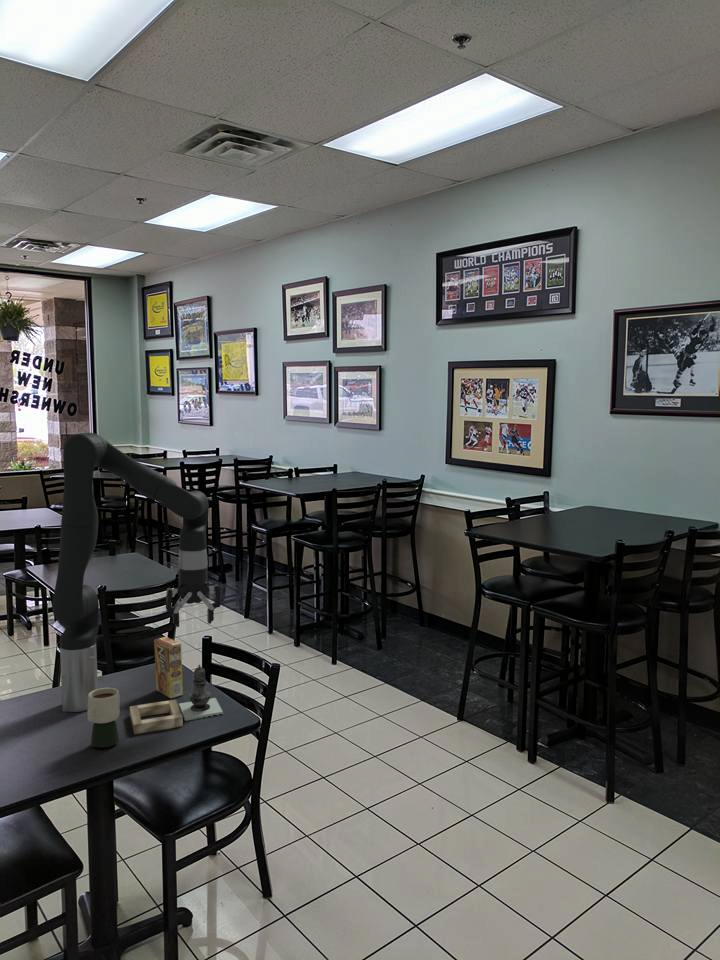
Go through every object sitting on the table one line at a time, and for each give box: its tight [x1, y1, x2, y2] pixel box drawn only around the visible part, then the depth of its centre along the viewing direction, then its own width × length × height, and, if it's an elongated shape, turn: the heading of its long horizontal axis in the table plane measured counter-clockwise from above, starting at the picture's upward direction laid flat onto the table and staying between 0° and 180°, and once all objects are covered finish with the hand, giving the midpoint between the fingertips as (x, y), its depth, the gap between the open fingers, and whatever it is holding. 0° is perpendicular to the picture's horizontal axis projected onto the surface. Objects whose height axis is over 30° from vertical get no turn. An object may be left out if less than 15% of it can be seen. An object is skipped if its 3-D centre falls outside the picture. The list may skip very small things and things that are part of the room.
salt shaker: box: [188, 664, 212, 712], centre depth 191 cm, size 6×6×12 cm
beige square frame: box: [129, 698, 184, 735], centre depth 185 cm, size 12×12×2 cm
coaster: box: [178, 697, 224, 722], centre depth 192 cm, size 10×10×1 cm
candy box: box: [153, 636, 184, 699], centre depth 203 cm, size 9×4×15 cm, turn 44°
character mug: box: [86, 687, 121, 748], centre depth 171 cm, size 11×7×13 cm, turn 161°
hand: (193, 624), depth 191 cm, fingers open, 8 cm apart
